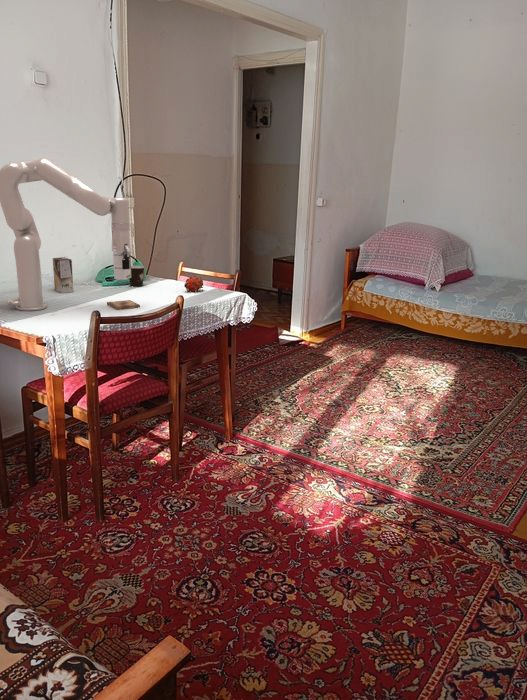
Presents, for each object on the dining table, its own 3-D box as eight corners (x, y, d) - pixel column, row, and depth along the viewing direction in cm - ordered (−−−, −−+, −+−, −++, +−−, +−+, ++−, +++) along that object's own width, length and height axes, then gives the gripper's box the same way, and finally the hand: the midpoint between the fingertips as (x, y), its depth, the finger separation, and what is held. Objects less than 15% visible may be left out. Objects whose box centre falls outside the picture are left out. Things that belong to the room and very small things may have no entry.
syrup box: (126, 280, 250) (125, 246, 246) (113, 279, 252) (112, 245, 247) (131, 277, 256) (130, 245, 252) (119, 276, 257) (118, 244, 253)
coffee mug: (139, 283, 309) (139, 265, 306) (147, 286, 302) (147, 267, 299) (120, 285, 302) (119, 266, 299) (127, 288, 295) (127, 269, 292)
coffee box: (74, 292, 282) (72, 259, 277) (61, 293, 278) (59, 260, 273) (66, 288, 288) (64, 256, 284) (54, 290, 284) (51, 257, 279)
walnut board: (116, 309, 250) (116, 307, 250) (107, 304, 259) (106, 302, 258) (139, 307, 256) (139, 304, 256) (129, 302, 265) (129, 299, 264)
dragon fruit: (205, 293, 300) (186, 299, 293) (196, 281, 303) (177, 287, 295) (209, 282, 294) (190, 287, 286) (200, 270, 296) (181, 275, 289)
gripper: (104, 225, 252) (106, 265, 257) (120, 229, 238) (122, 271, 243) (121, 225, 256) (122, 264, 261) (137, 228, 242) (138, 270, 248)
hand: (122, 267), depth 252 cm, fingers closed on syrup box, 7 cm apart
